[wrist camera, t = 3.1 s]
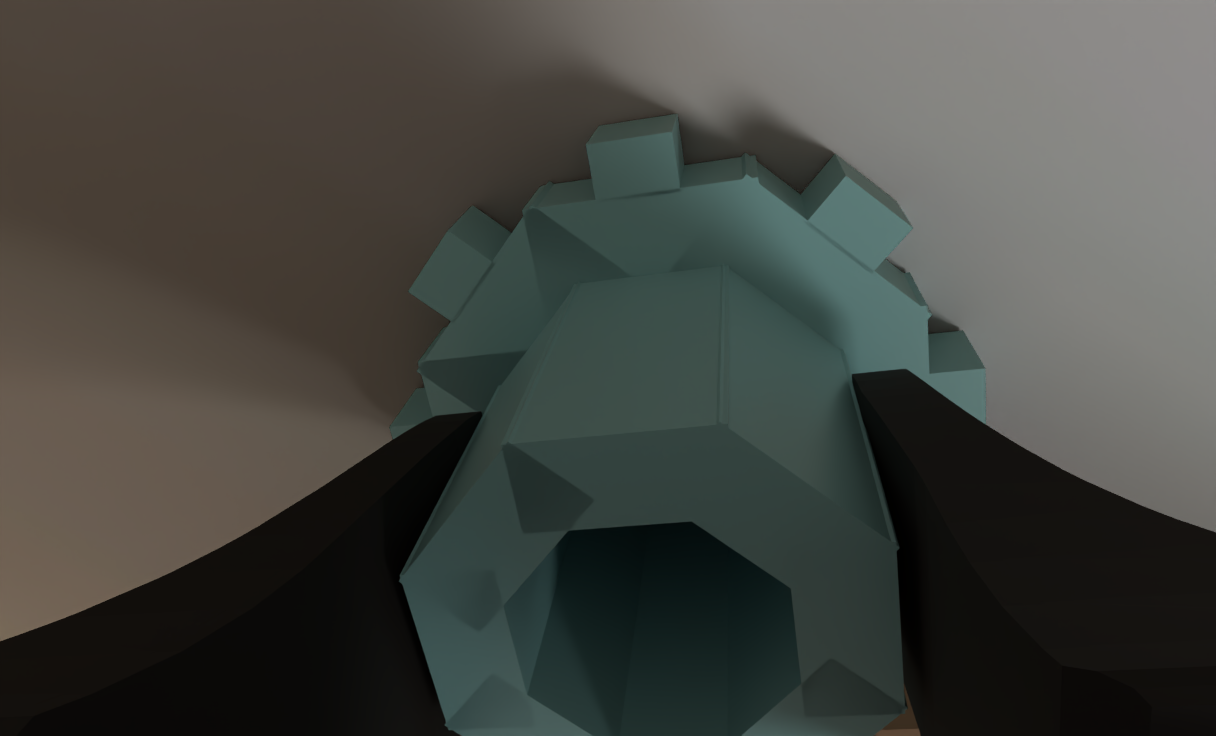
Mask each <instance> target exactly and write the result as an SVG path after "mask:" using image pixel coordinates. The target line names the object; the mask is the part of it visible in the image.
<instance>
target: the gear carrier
mask: <svg viewBox="0 0 1216 736" xmlns="http://www.w3.org/2000/svg"><path fill="white" fill-rule="evenodd" d="M904 693H905V697H906V702H907V706H908V709H907V710H905V714H900V715H899V716H898V717H897V718H895V719H894V720H893V721H891V722H890V723H889V724H888V725H886V726H885V727H884V728H883V729H881V730H880V731H879V732H878V733H876V734H875V735H874V736H921V735H920V732H919V728H918V725H917V722H916V719H915V716H914V713H913V710H912V707H911V704H910V700H909V697H908V694H907V691H906V688H905V685H904ZM460 736H461V735H460Z"/></svg>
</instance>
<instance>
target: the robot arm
mask: <svg viewBox="0 0 1216 736" xmlns="http://www.w3.org/2000/svg"><path fill="white" fill-rule="evenodd" d="M852 383H853V386H854V390H855V394H856V397H857V401H858V405H859V408H860V412H861V416H862V419H863V423H864V425H865V428H866V430H867V433H868V435H869V439H870V443H871V446H872V450H873V453H874V457H875V461H876V464H877V468H878V471H879V475H880V479H881V482H882V486H883V489H884V493H885V497H886V500H887V504H888V507H889V511H890V515H891V518H892V522H893V525H894V529H895V533H896V536H897V540H898V543H899V547H900V548H899V549H898V550H897V568H898V586H899V605H900V624H901V643H902V662H903V680H904V685H905V688H906V691H907V694H908V697H909V700H910V704H911V707H912V710H913V713H914V716H915V719H916V722H917V725H918V728H919V732H920V735H921V736H1216V532H1213V531H1210V530H1207V529H1204V528H1201V527H1198V526H1195V525H1192V524H1189V523H1186V522H1183V521H1180V520H1177V519H1175V518H1172V517H1169V516H1167V515H1164V514H1162V513H1159V512H1156V511H1154V510H1151V509H1148V508H1146V507H1143V506H1141V505H1139V504H1136V503H1134V502H1132V501H1129V500H1127V499H1125V498H1123V497H1120V496H1118V495H1116V494H1114V493H1111V492H1109V491H1107V490H1105V489H1102V488H1100V487H1098V486H1096V485H1093V484H1091V483H1089V482H1087V481H1084V480H1082V479H1080V478H1078V477H1076V476H1074V475H1072V474H1070V473H1068V472H1066V471H1064V470H1062V469H1061V468H1059V467H1057V466H1055V465H1053V464H1051V463H1050V462H1048V461H1046V460H1044V459H1042V458H1041V457H1039V456H1037V455H1035V454H1034V453H1032V452H1030V451H1028V450H1026V449H1025V448H1023V447H1021V446H1019V445H1018V444H1016V443H1014V442H1013V441H1011V440H1009V439H1008V438H1006V437H1005V436H1003V435H1001V434H1000V433H998V432H996V431H995V430H993V429H992V428H990V427H989V426H987V425H986V424H984V423H983V422H981V421H980V420H978V419H977V418H975V417H974V416H972V415H971V414H969V413H968V412H966V411H965V410H963V409H962V408H960V407H959V406H958V405H956V404H955V403H953V402H952V401H951V400H949V399H948V398H946V397H945V396H944V395H942V394H941V393H939V392H938V391H937V390H935V389H934V388H933V387H931V386H930V385H928V384H927V383H926V382H924V381H923V380H922V379H920V378H919V377H918V376H916V375H915V374H913V373H912V372H910V371H909V370H907V369H896V370H886V371H876V372H866V373H856V374H852ZM481 418H482V412H481V411H477V412H467V413H457V414H447V415H437V416H434V417H432V418H430V419H427V420H425V421H423V422H421V423H419V424H418V425H416V426H414V427H413V428H411V429H409V430H408V431H406V432H404V433H403V434H401V435H400V436H398V437H396V438H395V439H393V440H392V441H390V442H389V443H387V444H386V445H384V446H383V447H381V448H380V449H378V450H377V451H375V452H374V453H372V454H371V455H369V456H368V457H366V458H365V459H363V460H362V461H360V462H359V463H357V464H356V465H354V466H353V467H351V468H350V469H348V470H347V471H345V472H344V473H342V474H341V475H339V476H338V477H336V478H335V479H333V480H332V481H330V482H329V483H327V484H326V485H324V486H323V487H321V488H320V489H318V490H316V491H315V492H313V493H311V494H310V495H308V496H307V497H305V498H303V499H302V500H300V501H299V502H297V503H295V504H294V505H292V506H290V507H289V508H287V509H286V510H284V511H282V512H281V513H279V514H278V515H276V516H274V517H273V518H271V519H269V520H268V521H266V522H265V523H263V524H261V525H260V526H258V527H256V528H255V529H253V530H251V531H249V532H248V533H246V534H244V535H242V536H241V537H239V538H237V539H235V540H233V541H231V542H230V543H228V544H226V545H224V546H222V547H220V548H219V549H217V550H215V551H213V552H211V553H209V554H207V555H205V556H203V557H201V558H199V559H197V560H195V561H193V562H191V563H189V564H187V565H185V566H183V567H181V568H179V569H177V570H175V571H173V572H171V573H169V574H167V575H165V576H162V577H160V578H158V579H156V580H153V581H151V582H149V583H146V584H144V585H142V586H139V587H137V588H135V589H132V590H130V591H128V592H125V593H123V594H121V595H118V596H116V597H114V598H112V599H109V600H107V601H105V602H102V603H100V604H98V605H95V606H93V607H91V608H88V609H86V610H84V611H81V612H79V613H76V614H74V615H71V616H69V617H66V618H64V619H61V620H58V621H56V622H53V623H50V624H47V625H45V626H42V627H39V628H37V629H34V630H31V631H28V632H26V633H23V634H20V635H17V636H14V637H12V638H9V639H6V640H3V641H0V736H460V734H458V733H456V732H455V731H453V730H448V727H446V726H445V723H446V720H445V717H444V714H443V711H442V708H441V705H440V701H439V698H438V695H437V692H436V689H435V686H434V683H433V679H432V676H431V673H430V670H429V667H428V664H427V660H426V657H425V654H424V651H423V648H422V645H421V642H420V638H419V635H418V632H417V629H416V626H415V623H414V619H413V616H412V613H411V610H410V607H409V604H408V601H407V597H406V594H405V591H404V588H403V585H402V583H400V582H399V580H400V574H401V572H402V570H403V568H404V566H405V564H406V562H407V560H408V558H409V556H410V554H411V553H412V551H413V549H414V547H415V545H416V543H417V541H418V539H419V537H420V535H421V533H422V531H423V529H424V528H425V526H426V524H427V522H428V520H429V518H430V516H431V514H432V512H433V510H434V508H435V506H436V504H437V503H438V501H439V499H440V497H441V495H442V493H443V491H444V489H445V487H446V485H447V483H448V481H449V479H450V478H451V476H452V474H453V472H454V470H455V468H456V466H457V464H458V462H459V460H460V458H461V456H462V454H463V453H464V451H465V449H466V447H467V445H468V443H469V441H470V439H471V437H472V435H473V433H474V431H475V430H476V428H477V426H478V424H479V422H480V420H481Z"/></svg>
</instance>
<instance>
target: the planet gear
mask: <svg viewBox="0 0 1216 736" xmlns="http://www.w3.org/2000/svg"><path fill="white" fill-rule="evenodd" d="M586 149H587V155H588V160H589V166H590V171H591V177H592V179H585V180H578V181H571V182H564V183H557V184H553V183H552V182H550V181H549V182H548V183H547V184H546V185H544V186H540V187H539V189H538V190H537V191H536V193H535V194H534V195H533V196H532V198H531V199H530V200H529V202H528V203H527V204H526V206H525V207H524V208H523V209H522V212H523V217H522V219H521V220H520V222H519V223H518V225H517V226H516V227H515V229H514V230H513V232H512V233H511V232H510V231H508V230H507V229H505V228H504V227H503V226H501V225H500V224H498V223H497V222H496V221H494V220H493V219H491V218H490V217H488V216H487V215H486V214H484V213H483V212H481V211H480V210H479V209H477V208H476V207H474V206H473V205H472V206H471V207H470V208H469V209H468V210H467V211H466V212H465V213H464V214H463V215H462V216H461V217H460V218H459V219H458V220H457V222H456V223H455V224H454V225H453V226H452V227H451V228H450V229H449V230H448V231H447V232H446V234H445V235H444V237H443V239H442V240H441V242H440V243H439V245H438V246H437V248H436V249H435V251H434V252H433V254H432V255H431V257H430V259H429V260H428V262H427V263H426V265H425V266H424V268H423V269H422V271H421V272H420V274H419V275H418V277H417V279H416V280H415V282H414V283H413V285H412V286H411V288H410V289H409V291H408V292H409V293H410V294H412V295H413V296H415V297H416V298H418V299H419V300H421V301H422V302H423V303H425V304H426V305H428V306H429V307H431V308H432V309H434V310H435V311H437V312H438V313H440V314H441V315H443V316H444V317H445V318H447V319H448V320H450V321H451V322H450V323H449V325H448V326H447V327H443V329H442V330H441V332H440V333H439V334H438V336H437V337H436V338H435V340H434V341H433V342H432V344H431V345H430V346H429V348H428V349H427V350H426V352H425V353H424V355H423V356H422V357H421V359H420V360H419V361H418V365H419V368H418V370H417V372H418V373H420V374H421V376H422V379H423V383H424V387H425V388H416V390H415V391H414V393H413V394H412V395H411V397H410V398H409V400H408V401H407V403H406V404H405V405H404V407H403V408H402V410H401V411H400V413H399V414H398V416H397V417H396V418H395V420H394V421H393V423H392V424H391V426H390V427H389V428H390V431H391V435H392V438H393V439H395V438H396V437H398V436H400V435H401V434H403V433H404V432H406V431H408V430H409V429H411V428H413V427H414V426H416V425H418V424H419V423H421V422H423V421H425V420H427V419H430V418H432V417H434V416H437V415H447V414H457V413H467V412H477V411H481V412H482V418H481V420H480V422H479V424H478V426H477V428H476V430H475V431H474V433H473V435H472V437H471V439H470V441H469V443H468V445H467V447H466V449H465V451H464V453H463V454H462V456H461V458H460V460H459V462H458V464H457V466H456V468H455V470H454V472H453V474H452V476H451V478H450V479H449V481H448V483H447V485H446V487H445V489H444V491H443V493H442V495H441V497H440V499H439V501H438V503H437V504H436V506H435V508H434V510H433V512H432V514H431V516H430V518H429V520H428V522H427V524H426V526H425V528H424V529H423V531H422V533H421V535H420V537H419V539H418V541H417V543H416V545H415V547H414V549H413V551H412V553H411V554H410V556H409V558H408V560H407V562H406V564H405V566H404V568H403V570H402V572H401V574H400V580H399V582H400V583H402V585H403V588H404V591H405V594H406V597H407V601H408V604H409V607H410V610H411V613H412V616H413V619H414V623H415V626H416V629H417V632H418V635H419V638H420V642H421V645H422V648H423V651H424V654H425V657H426V660H427V664H428V667H429V670H430V673H431V676H432V679H433V683H434V686H435V689H436V692H437V695H438V698H439V701H440V705H441V708H442V711H443V714H444V717H445V720H446V723H445V726H446V727H448V730H453V731H455V732H456V733H458V734H460V735H461V736H874V735H875V734H876V733H878V732H879V731H880V730H881V729H883V728H884V727H885V726H886V725H888V724H889V723H890V722H891V721H893V720H894V719H895V718H897V717H898V716H899V715H900V714H905V710H907V709H908V706H907V702H906V697H905V693H904V680H903V662H902V643H901V624H900V605H899V586H898V568H897V550H898V549H899V548H900V547H899V543H898V540H897V536H896V533H895V529H894V525H893V522H892V518H891V515H890V511H889V507H888V504H887V500H886V497H885V493H884V489H883V486H882V482H881V479H880V475H879V471H878V468H877V464H876V461H875V457H874V453H873V450H872V446H871V443H870V439H869V435H868V433H867V430H866V428H865V425H864V423H863V419H862V416H861V412H860V408H859V405H858V401H857V397H856V394H855V390H854V386H853V383H852V374H856V373H866V372H876V371H886V370H896V369H907V370H909V371H910V372H912V373H913V374H915V375H916V376H918V377H919V378H920V379H922V380H923V381H924V382H926V383H927V384H928V385H930V386H931V387H933V388H934V389H935V390H937V391H938V392H939V393H941V394H942V395H944V396H945V397H946V398H948V399H949V400H951V401H952V402H953V403H955V404H956V405H958V406H959V407H960V408H962V409H963V410H965V411H966V412H968V413H969V414H971V415H972V416H974V417H975V418H977V419H978V420H980V421H981V422H983V423H984V424H986V383H985V367H984V365H983V363H982V362H981V360H980V358H979V357H978V355H977V353H976V352H975V350H974V348H973V347H972V345H971V343H970V342H969V340H968V338H967V337H966V335H965V333H964V331H953V332H944V333H934V334H928V319H929V318H930V317H931V316H932V314H931V312H930V310H929V308H928V306H927V304H926V302H925V300H924V299H923V297H922V295H921V293H920V291H919V289H918V287H917V286H916V284H915V282H914V280H913V278H912V276H911V274H910V272H909V273H903V272H901V271H900V270H899V269H897V268H896V267H895V266H894V265H892V264H891V263H890V262H888V261H887V260H886V259H885V258H886V257H887V256H888V255H889V254H890V253H891V252H892V251H893V250H894V249H895V247H896V246H897V245H898V244H899V243H900V242H901V241H902V240H903V239H904V238H905V237H906V235H907V234H908V233H909V232H910V231H911V230H912V229H913V227H912V225H911V224H910V222H909V220H908V219H907V217H906V216H905V214H904V212H903V211H902V209H901V208H900V206H899V205H898V203H897V201H895V200H894V199H893V198H892V197H890V196H889V195H888V194H886V193H885V192H884V191H883V190H881V189H880V188H879V187H877V186H876V185H875V184H874V183H872V182H871V181H870V180H868V179H867V178H866V177H865V176H863V175H862V174H861V173H859V172H858V171H857V170H856V169H854V168H853V167H852V166H850V165H849V164H848V163H847V162H845V161H844V160H843V159H841V158H840V157H839V156H838V155H836V154H834V155H833V157H832V158H831V159H830V160H829V161H828V163H827V164H826V165H825V166H824V167H823V169H822V170H821V171H820V172H819V173H818V175H817V176H816V177H815V178H814V179H813V181H812V182H811V183H810V184H809V185H808V187H807V188H806V189H805V190H804V191H803V193H802V194H801V195H800V194H799V193H798V192H796V191H795V190H794V189H793V188H791V187H790V186H789V185H787V184H786V183H785V182H783V181H782V180H781V179H779V178H778V177H777V176H775V175H774V174H773V173H772V172H770V171H769V170H768V169H766V168H765V167H764V166H762V165H761V164H760V163H758V162H757V161H756V155H752V156H749V155H748V154H747V153H744V154H743V155H742V157H738V158H731V159H724V160H717V161H710V162H703V163H696V164H689V165H684V158H683V150H682V143H681V136H680V128H679V121H678V114H672V115H665V116H659V117H652V118H646V119H639V120H633V121H626V122H620V123H613V124H607V125H600V126H599V127H598V128H597V129H596V131H595V132H594V134H593V135H592V137H591V138H590V139H589V141H588V142H587V144H586Z"/></svg>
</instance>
